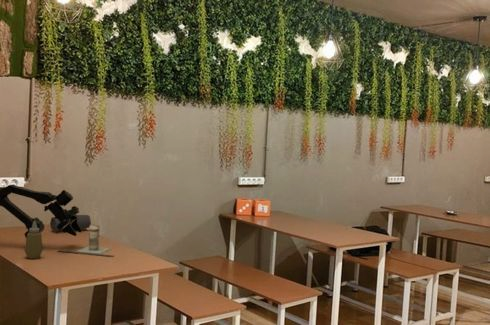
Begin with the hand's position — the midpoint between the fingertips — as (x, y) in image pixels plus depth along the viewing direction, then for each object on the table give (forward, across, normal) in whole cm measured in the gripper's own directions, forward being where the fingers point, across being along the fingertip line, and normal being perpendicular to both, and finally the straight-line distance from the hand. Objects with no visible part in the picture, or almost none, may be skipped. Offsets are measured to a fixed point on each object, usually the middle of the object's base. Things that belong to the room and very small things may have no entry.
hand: (78, 233), depth 276 cm
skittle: (+12, 0, 0) cm, 12 cm away
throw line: (+10, -8, +1) cm, 13 cm away
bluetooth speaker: (-6, +50, +20) cm, 54 cm away
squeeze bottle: (-5, -21, +17) cm, 27 cm away
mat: (+12, 0, 0) cm, 12 cm away
